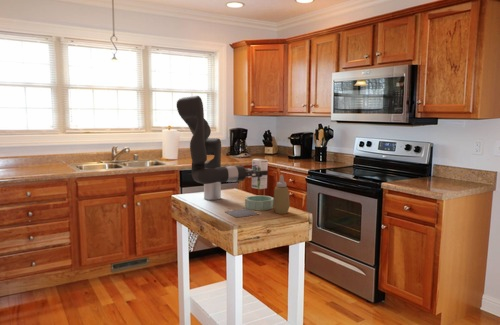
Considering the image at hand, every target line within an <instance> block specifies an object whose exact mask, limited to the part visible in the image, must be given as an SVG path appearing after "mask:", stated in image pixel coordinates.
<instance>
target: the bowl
mask: <svg viewBox="0 0 500 325" xmlns="http://www.w3.org/2000/svg"><path fill="white" fill-rule="evenodd" d="M273 200H274V196H273V197H272V196H269V195H248V196H247V197H245V200H244V204H245V206H244V207H245V209H249V210H251V211H268V210H269V211H270V210H272V209H274V207H273Z"/></svg>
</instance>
